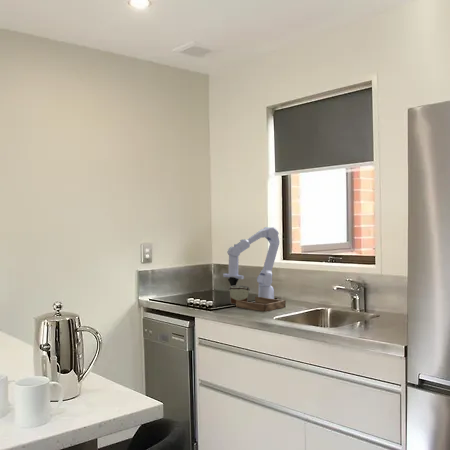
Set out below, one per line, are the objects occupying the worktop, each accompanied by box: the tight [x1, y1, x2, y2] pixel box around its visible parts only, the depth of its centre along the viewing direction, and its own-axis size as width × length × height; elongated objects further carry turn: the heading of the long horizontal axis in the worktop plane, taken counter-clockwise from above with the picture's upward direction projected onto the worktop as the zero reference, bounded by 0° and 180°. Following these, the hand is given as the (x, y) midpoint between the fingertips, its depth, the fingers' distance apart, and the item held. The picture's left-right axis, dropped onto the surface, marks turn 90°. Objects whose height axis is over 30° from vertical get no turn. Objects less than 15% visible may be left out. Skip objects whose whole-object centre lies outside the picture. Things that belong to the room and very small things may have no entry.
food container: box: [228, 284, 251, 305], centre depth 302 cm, size 12×6×10 cm, turn 87°
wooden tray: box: [235, 296, 287, 312], centre depth 291 cm, size 18×21×4 cm
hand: (233, 290), depth 304 cm, fingers closed, pressing on food container
